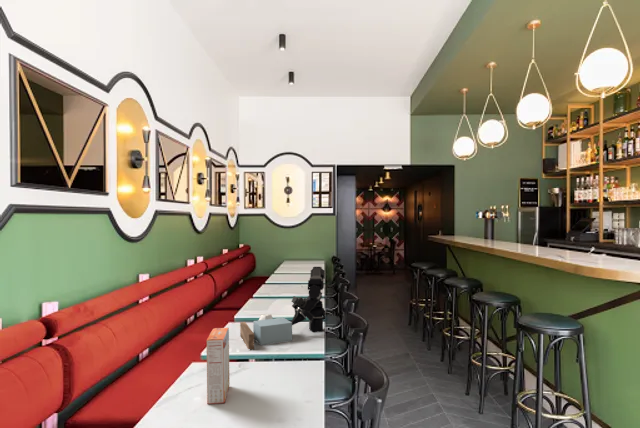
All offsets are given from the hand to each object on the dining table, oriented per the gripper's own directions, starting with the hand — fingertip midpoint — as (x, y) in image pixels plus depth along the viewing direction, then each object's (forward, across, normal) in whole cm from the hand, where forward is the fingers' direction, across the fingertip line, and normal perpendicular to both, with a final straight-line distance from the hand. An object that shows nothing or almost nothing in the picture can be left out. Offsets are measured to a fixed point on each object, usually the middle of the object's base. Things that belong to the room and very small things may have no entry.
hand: (291, 324), depth 202 cm
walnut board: (+20, -1, -11) cm, 23 cm away
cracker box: (+35, +55, -26) cm, 70 cm away
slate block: (+12, 0, -2) cm, 12 cm away
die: (+11, -19, -1) cm, 22 cm away
